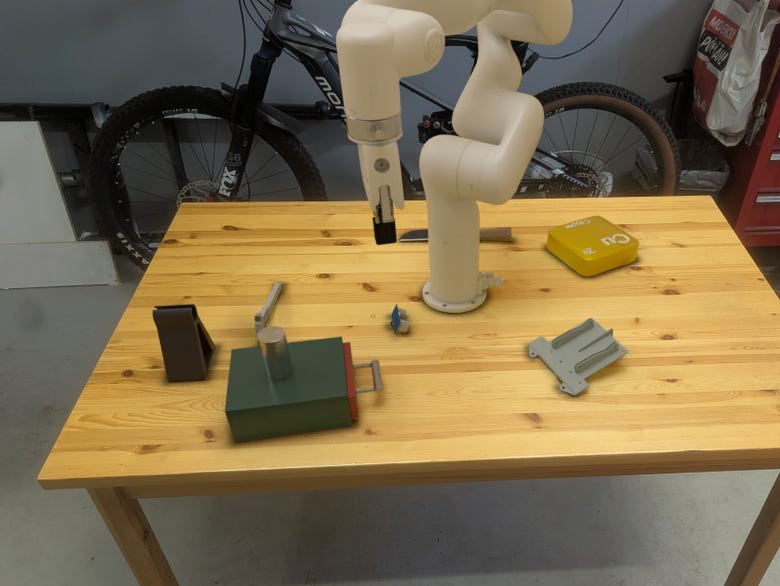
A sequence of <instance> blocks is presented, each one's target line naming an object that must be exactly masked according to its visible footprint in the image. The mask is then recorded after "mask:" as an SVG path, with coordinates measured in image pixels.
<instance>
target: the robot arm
mask: <svg viewBox="0 0 780 586" xmlns="http://www.w3.org/2000/svg"><path fill="white" fill-rule="evenodd" d="M573 13H574V11H573V4H572V0H356V1H355V2H354V3H353V4H352V5H350V6H349V8H348V9H347V10H346V12H345V14H344V16H343V18H342V21H341V24H340V28H339V29H338V30H337V32H336V36H335V45H336V53H337V61H338V70H339V77H340V85H341V92H342V93H341V94H342V100H343V108H344V109H343V110H344V116H345V123H346V131H347V132H346V133H347V134H346V135H347V138H348V139H349V141H351V142H353V143H355V144H357V151H358V152H357V153H358V158H359V166H360V167H359V168H360V172H361V178H362V182H363V187H364V189H365V191H364V192H365V194H366V198H367V201H368V204H369V207H370V210H371V211H372V215H373V216H372V226H373V234H374V235H373V236H374V241H375V244H376V246H383V245H384V246H385V245H393V244H396V243H397V242H398V236H397V226H396V225H397V224H396V217H395V214H394V213H395V211H394V206H395V208H396V210H400V211H402V210H404V208H405V207H406V204H405V196H404V189H403V188H404V187H403V178H402V168H401V167H402V166H401V161H400V153H399V147H398V146H399V145H398V140H399V139H401V138H402V137H403V134H404V132H403V131H404V130H403V119H402V118H403V117H402V106H401V103H402V102H401V91H400V80H401V79H403V78H408V77H412V76H413V77H414V76H418V75H423V74H425V73H427V72H429V71H431V70H432V69H433V68H435V66H437V64H439V62H440V61H441V59H442V57H443V54H444V51H445V48H446V47H445V45H446V37H448V36H454V35H460V34H464V33H466V32H468V31H469V30H472V29H473V27H475V26H476V33H477V34H476V35H477V49H478V51H477V52H478V53H477V61H476V64H475V66H474V67H473V70H472V73H471V74H470V76H469V78H468V80H467V83H466V84H465V86H464V88H463V91H462V92H461V94H460V96H459V98H458V100H457V102H456V104H455V107H454V109H453V112H452V116H451V126H452V128H453V130H454V132H455V133H456V135H453V134H438V135H435V136H432V137H431V138H429V139H428V140H427V141H426V142H425V143H424V145H423V146H422V148H421V151H420V152H419V153H420V154H419V158H418V159H419V160H418V162H419V163H418V165H419V166H418V167H419V173H420V174H419V175H420V179H421V182H422V186H423V191H424V196H425V202H426V215H427V229H428V240H427V241H428V243H427V244H428V264H429V280H427V282H425V283H424V285H423V286H422V299H423V301H424V302H425V304H426V305H427V306H429V307H430V308H431V309H434V310H436V311H439V312H443V313H450V314H456V313H459V314H460V313H466V312H469V311H473V310H474V309H477V308H478V307H479V306H481V305H482V304H484V302H485V300H486V298H487V290H488V288H498V287H503V286H504V279H503V276H495V274H494V271H488V272H487V271H486V272H482V271H480V240H479V239H480V229H481V213H480V209H479V206H478V203H477V202H480V203H484V204H489V205H493V206H502V205H505V204H507V203H508V202H509V201H510V200H511V199H512V198H513V196H514V195H515V194H516V191H517V190H518V188H519V186H520V184H521V181H522V180H523V177H524V175H525V174H526V173H525V172H526V171H527V169H528V166H529V164H530V162H531V161H532V158H533V156H534V154H535V151H536V150H537V148H538V145H539V142H540V139H541V137H542V134H543V129H544V124H545V111H544V108H543V105H542V103H541V102H540V100H539V99H538V98H536V97H535V96H534V95H531V94H529V93H524V92H520V91H518V89H519V87H520V85H521V83H522V80H523V71H522V67H521V64H520V60H519V58H518V56H517V54H516V52H515V51H514V49H513V46H512V42H511V40H512V41H516V42H517V41H518V42H523V43H530V44H537V45H541V46H542V45H543V46H557V45H559V44H561V43H562V42H563V41H564V40H565V39H566V38H567V37H568V34H569V33H570V30H571V27H572V24H573V18H574V17H573V15H574V14H573Z"/></svg>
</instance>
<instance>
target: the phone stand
mask: <svg viewBox="0 0 780 586" xmlns="http://www.w3.org/2000/svg"><path fill="white" fill-rule="evenodd" d="M153 307H154V309H152V313H151V314H152V320H153V322H154V326H155V327H156V332H157V336H158V341H159V346H160V351H161V355H162V356H161V357H162V359H163V365H164V370H165V374H166V375H165V376H166V380H167V382H170V383H171V382H172V383H173V382H186V381H201V380H206V379H207V376H208V372H209V369H210V365H211V362H212V359H213V356H214V353H215V349H216V344H215V342H214V341H213V339H212V337H211V336H210V333H209V332H208V330H207V328H206V327H205V325H204V323H203V321H202V320H201V317H200V316H199V313H198V308H197V306H196V304H194V303H190V304H189V303H186V304H167V305H154V306H153Z"/></svg>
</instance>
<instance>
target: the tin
mask: <svg viewBox="0 0 780 586" xmlns="http://www.w3.org/2000/svg"><path fill="white" fill-rule="evenodd" d="M286 334H287V333H286V331H285V329H284V328H283V327H281V326H278V325H269V326H266V328H264V329H262V330H260V331H259V333H258V334H257V336H256V339H257V338H258V340H257V343H258V342H259V344H258V346H260V350H261V354H262V358H263V362H264V365H265V369H266V373H267V376H268V378H269V379H271V380H274V381H281V380H285V379H287V378H289V377H290V376H291V375H292V374H293V366H292V361H291V357H290V352H289V348H288V343H289V342H288V339H287V335H286Z"/></svg>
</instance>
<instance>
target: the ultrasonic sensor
mask: <svg viewBox="0 0 780 586" xmlns="http://www.w3.org/2000/svg"><path fill="white" fill-rule="evenodd" d="M407 313H408V312H407V309H405V308H400V307H399V306H398V303H396V304H395V306H394V308H393V310H392V312H391V314H390V316H391V320H390V325H389V326H390V327H389V328H390V329H392V328H393V333H394V334H396V333H397V332H401V333H404V334H405V333H407V332H408V331H409V327H410V322H409V321H408V320H406V317H407Z"/></svg>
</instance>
